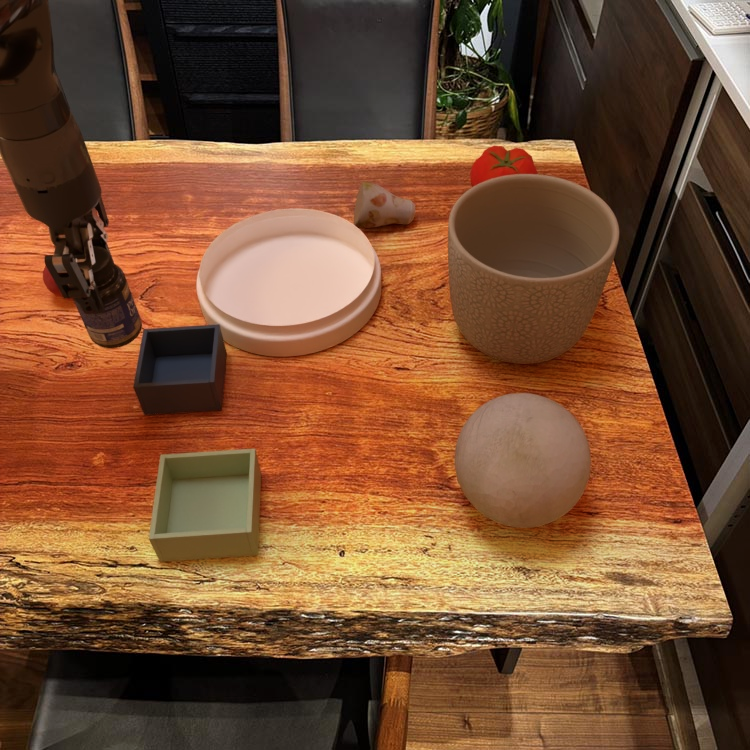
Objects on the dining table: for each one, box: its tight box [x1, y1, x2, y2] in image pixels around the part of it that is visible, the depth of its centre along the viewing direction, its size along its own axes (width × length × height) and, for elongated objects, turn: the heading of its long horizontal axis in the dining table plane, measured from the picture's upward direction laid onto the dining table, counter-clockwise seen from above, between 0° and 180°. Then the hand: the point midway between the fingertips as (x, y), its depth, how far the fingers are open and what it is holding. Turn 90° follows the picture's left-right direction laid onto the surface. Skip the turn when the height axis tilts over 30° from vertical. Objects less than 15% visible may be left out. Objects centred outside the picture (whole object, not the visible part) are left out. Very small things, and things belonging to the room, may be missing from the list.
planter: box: [447, 173, 620, 365], centre depth 106 cm, size 21×21×19 cm
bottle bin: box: [132, 324, 228, 416], centre depth 106 cm, size 10×10×6 cm
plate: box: [195, 207, 382, 358], centre depth 118 cm, size 27×27×6 cm
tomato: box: [470, 145, 539, 188], centre depth 131 cm, size 11×11×8 cm
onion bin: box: [148, 448, 262, 563], centre depth 93 cm, size 11×11×5 cm
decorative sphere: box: [454, 392, 592, 529], centre depth 90 cm, size 15×15×15 cm
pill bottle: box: [72, 246, 143, 349], centre depth 90 cm, size 6×6×11 cm
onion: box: [42, 265, 64, 298], centre depth 118 cm, size 6×6×8 cm
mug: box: [353, 181, 416, 229], centre depth 128 cm, size 8×10×10 cm
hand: (100, 289), depth 89 cm, fingers closed on pill bottle, 6 cm apart
